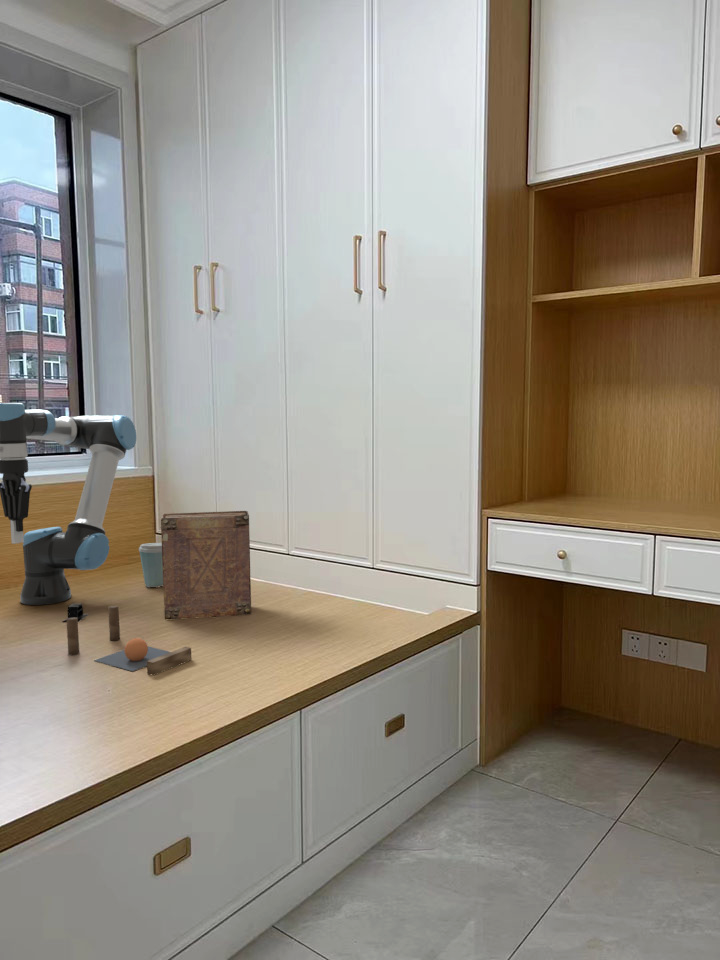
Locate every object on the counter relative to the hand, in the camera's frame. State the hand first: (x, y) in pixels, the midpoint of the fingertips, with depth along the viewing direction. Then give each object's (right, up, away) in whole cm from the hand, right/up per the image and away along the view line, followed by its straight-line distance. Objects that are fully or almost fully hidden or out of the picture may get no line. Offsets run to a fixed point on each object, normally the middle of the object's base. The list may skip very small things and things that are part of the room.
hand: (17, 542), depth 204 cm
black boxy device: (+12, -24, +11) cm, 29 cm away
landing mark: (+41, -26, -24) cm, 54 cm away
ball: (+41, -24, -26) cm, 54 cm away
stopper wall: (+51, -27, -30) cm, 65 cm away
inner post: (+31, -25, -10) cm, 41 cm away
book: (+50, -23, +15) cm, 57 cm away
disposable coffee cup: (+25, -19, +49) cm, 59 cm away
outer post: (+24, -26, -20) cm, 41 cm away
